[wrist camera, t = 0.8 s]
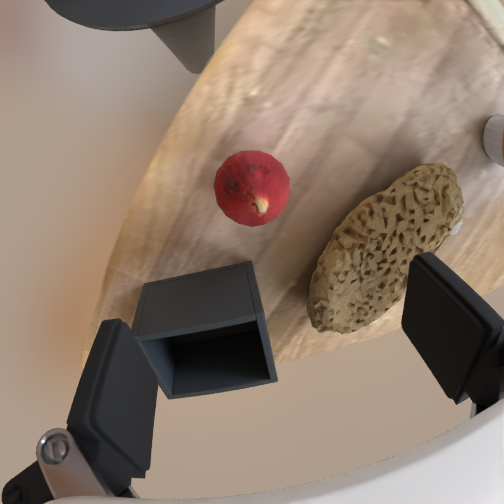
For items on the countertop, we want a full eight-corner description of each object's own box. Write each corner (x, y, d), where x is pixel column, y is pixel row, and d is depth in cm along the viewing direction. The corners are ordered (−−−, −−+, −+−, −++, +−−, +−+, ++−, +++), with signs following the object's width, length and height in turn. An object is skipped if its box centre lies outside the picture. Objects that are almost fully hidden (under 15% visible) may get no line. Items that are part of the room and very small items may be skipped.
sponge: (410, 141, 28) (260, 255, 27) (470, 164, 21) (306, 310, 21) (425, 226, 36) (310, 325, 35) (469, 255, 29) (347, 372, 29)
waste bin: (173, 345, 35) (168, 399, 28) (144, 283, 30) (129, 337, 23) (265, 328, 35) (278, 381, 28) (251, 260, 31) (263, 312, 24)
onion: (201, 182, 26) (196, 215, 19) (241, 130, 25) (253, 143, 18) (252, 218, 29) (265, 261, 22) (292, 170, 27) (321, 199, 20)
